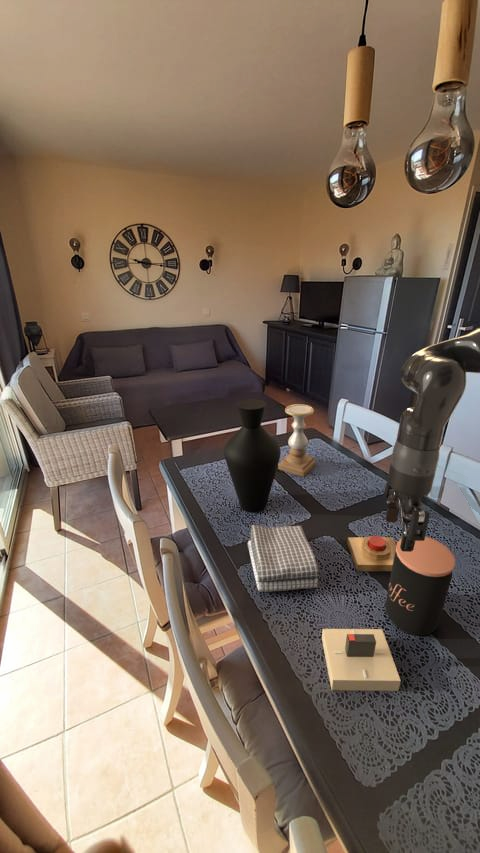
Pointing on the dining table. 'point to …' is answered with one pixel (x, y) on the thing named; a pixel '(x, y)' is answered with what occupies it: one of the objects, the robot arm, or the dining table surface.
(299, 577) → the towel
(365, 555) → the switch block
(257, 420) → the vase
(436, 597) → the coffee jar
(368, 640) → the dark grey block
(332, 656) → the panel
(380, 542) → the button
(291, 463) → the candle holder
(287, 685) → the dining table surface
